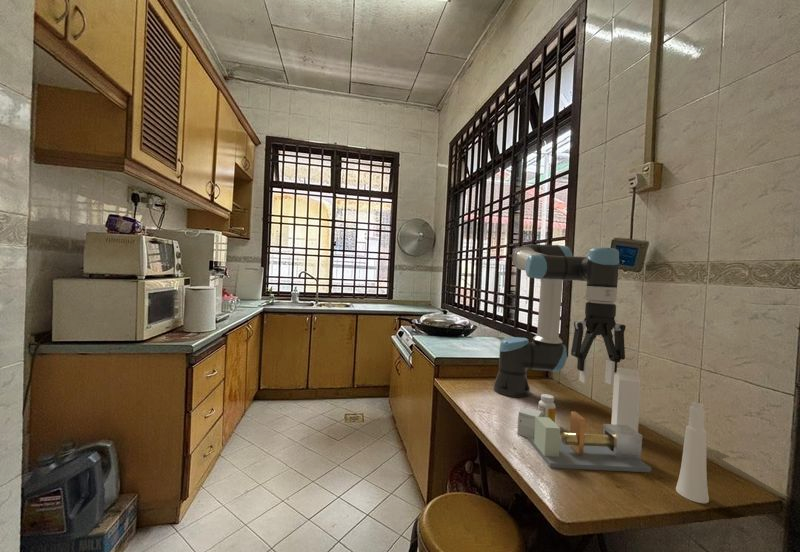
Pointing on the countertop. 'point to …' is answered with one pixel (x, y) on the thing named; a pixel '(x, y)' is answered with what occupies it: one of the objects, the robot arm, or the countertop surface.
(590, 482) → the countertop surface
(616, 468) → the board
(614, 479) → the countertop surface
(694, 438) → the cosmetic bottle
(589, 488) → the countertop surface
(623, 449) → the grey cube end cap
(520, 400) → the countertop surface
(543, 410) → the supplement bottle
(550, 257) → the robot arm
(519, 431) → the product box
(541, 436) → the socket
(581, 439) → the tube
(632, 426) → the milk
